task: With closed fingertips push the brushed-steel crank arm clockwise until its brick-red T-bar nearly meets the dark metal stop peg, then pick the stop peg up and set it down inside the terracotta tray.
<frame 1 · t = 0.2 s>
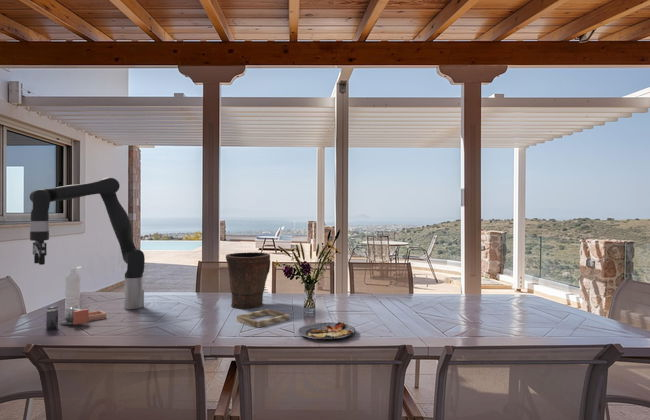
hand: (39, 263, 188), 29 cm above the table, fingers open, 8 cm apart
crank: (75, 315, 187), point 4 cm above the table, hinge at 100.0°
tray: (93, 318, 197), on the table
water bottle: (74, 315, 203), on the table
stop peg: (52, 329, 178), on the table
food plate: (327, 335, 171), on the table
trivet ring: (263, 320, 194), on the table
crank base: (71, 322, 189), on the table
clay pot: (250, 305, 228), on the table
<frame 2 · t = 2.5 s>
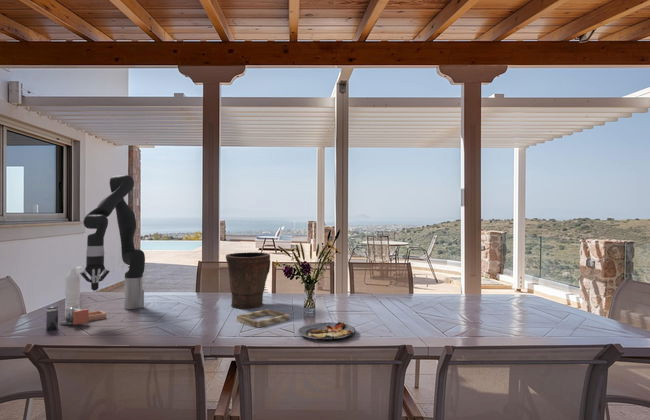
hand: (94, 290, 191), 15 cm above the table, fingers closed
nothing on the table moved.
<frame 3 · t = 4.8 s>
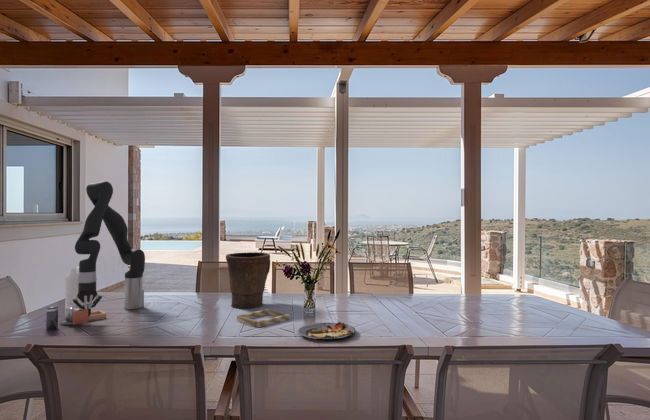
hand: (87, 316, 188), 3 cm above the table, fingers closed
crank: (75, 315, 187), point 4 cm above the table, hinge at 99.1°, touching gripper
everything else where it was.
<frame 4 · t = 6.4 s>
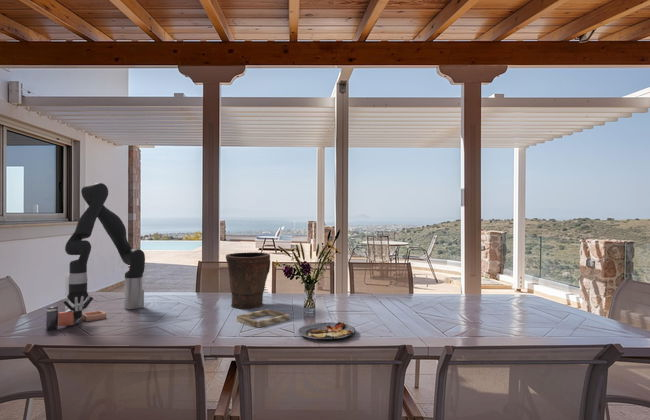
hand: (77, 318, 185), 3 cm above the table, fingers closed
crank: (69, 315, 185), point 4 cm above the table, hinge at 62.8°, touching gripper
everything else where it was.
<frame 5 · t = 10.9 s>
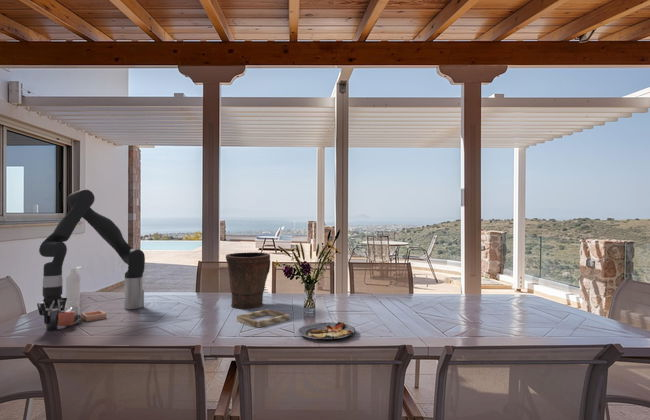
hand: (52, 322, 178), 3 cm above the table, fingers closed on stop peg, 4 cm apart
crank: (69, 315, 185), point 4 cm above the table, hinge at 62.7°
stop peg: (52, 329, 178), on the table, touching gripper
everything else where it was.
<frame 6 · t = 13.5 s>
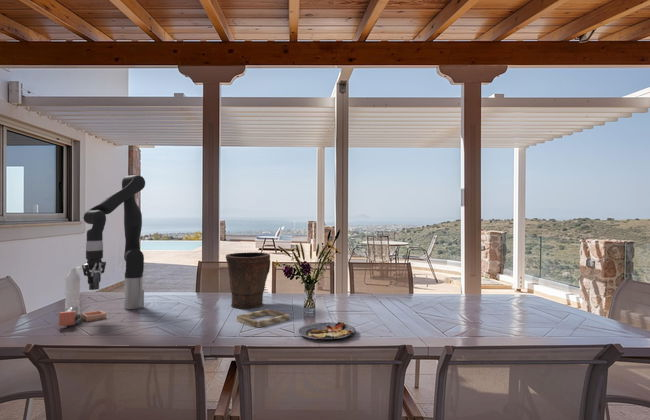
hand: (94, 282, 198), 18 cm above the table, fingers closed on stop peg, 4 cm apart
crank: (70, 315, 186), point 4 cm above the table, hinge at 65.4°
stop peg: (94, 289, 198), point 15 cm above the table, touching gripper
everything else where it was.
when the fingers open (5 cm above the table, at t = 16.1 s): stop peg drops 1 cm, resting on tray.
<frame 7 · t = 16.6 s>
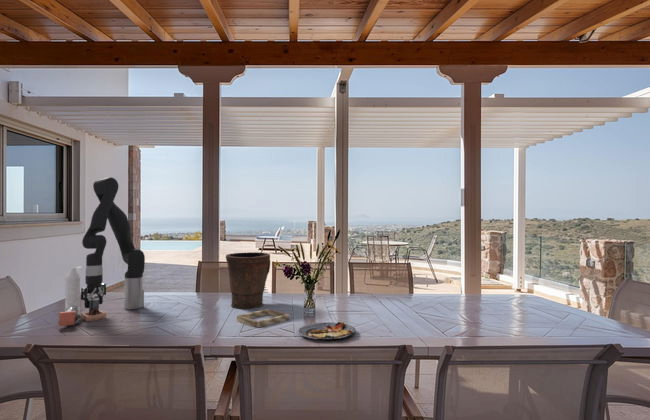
hand: (93, 306, 197), 6 cm above the table, fingers open, 8 cm apart
stop peg: (93, 316, 197), point 1 cm above the table, touching tray
everything else where it was.
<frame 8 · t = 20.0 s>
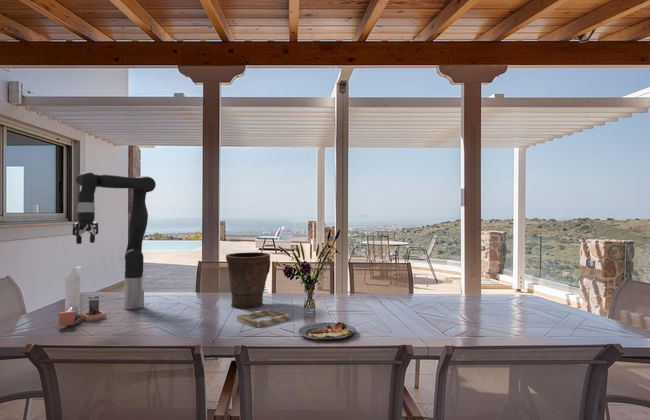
hand: (85, 243, 198), 38 cm above the table, fingers open, 8 cm apart
nothing on the table moved.
at the end: crank at +65° (first picture: +100°); stop peg inside the target area on the tray (0.2 cm from its centre), point 0.8 cm above the tray's base; stop peg tilted 0° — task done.
